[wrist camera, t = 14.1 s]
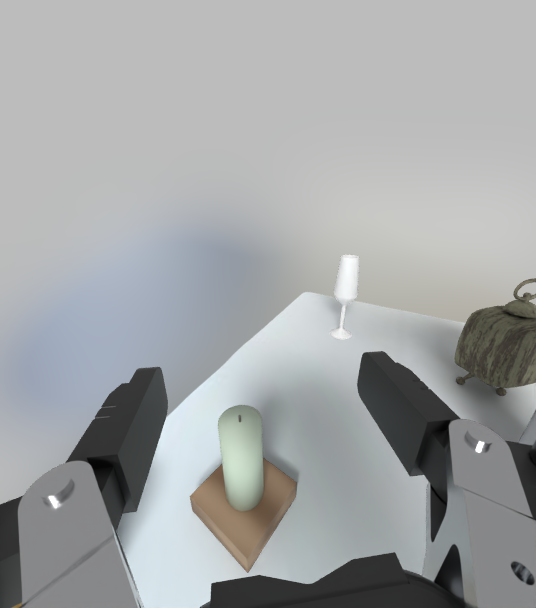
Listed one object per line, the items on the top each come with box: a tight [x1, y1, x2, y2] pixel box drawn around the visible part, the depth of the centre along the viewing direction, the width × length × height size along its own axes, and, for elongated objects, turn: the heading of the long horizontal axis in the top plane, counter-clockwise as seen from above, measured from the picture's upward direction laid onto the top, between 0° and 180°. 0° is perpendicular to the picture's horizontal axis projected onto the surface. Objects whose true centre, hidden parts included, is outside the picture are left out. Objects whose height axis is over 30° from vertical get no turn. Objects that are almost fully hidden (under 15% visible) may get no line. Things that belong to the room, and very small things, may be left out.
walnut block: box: [190, 458, 297, 573], centre depth 34 cm, size 10×10×3 cm
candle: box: [218, 405, 264, 511], centre depth 31 cm, size 5×5×13 cm
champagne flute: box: [330, 255, 359, 339], centre depth 74 cm, size 7×7×24 cm
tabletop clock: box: [455, 279, 536, 396], centre depth 51 cm, size 14×9×25 cm, turn 103°
